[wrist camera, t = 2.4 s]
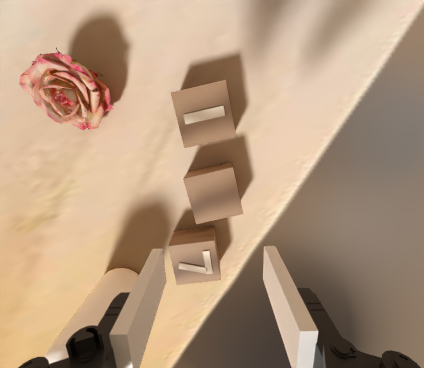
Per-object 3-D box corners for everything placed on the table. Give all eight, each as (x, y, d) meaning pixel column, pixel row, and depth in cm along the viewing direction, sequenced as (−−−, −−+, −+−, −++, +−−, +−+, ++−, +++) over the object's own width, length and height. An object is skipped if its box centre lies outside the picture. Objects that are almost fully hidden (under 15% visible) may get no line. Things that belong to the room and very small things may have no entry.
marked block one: (177, 97, 32) (170, 92, 27) (223, 86, 31) (225, 79, 26) (188, 144, 33) (184, 148, 28) (233, 135, 33) (236, 136, 28)
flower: (30, 56, 29) (-5, 86, 24) (81, 22, 26) (53, 47, 21) (89, 114, 36) (72, 146, 31) (134, 91, 33) (123, 123, 28)
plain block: (187, 171, 34) (183, 179, 30) (230, 161, 34) (232, 167, 29) (198, 211, 36) (196, 224, 31) (239, 202, 36) (243, 213, 31)
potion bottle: (147, 303, 41) (99, 434, 24) (104, 301, 41) (23, 431, 24) (146, 266, 39) (92, 379, 21) (100, 263, 39) (8, 375, 21)
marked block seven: (174, 230, 37) (168, 247, 32) (214, 225, 37) (214, 241, 32) (181, 265, 39) (176, 285, 34) (219, 260, 39) (220, 280, 34)
